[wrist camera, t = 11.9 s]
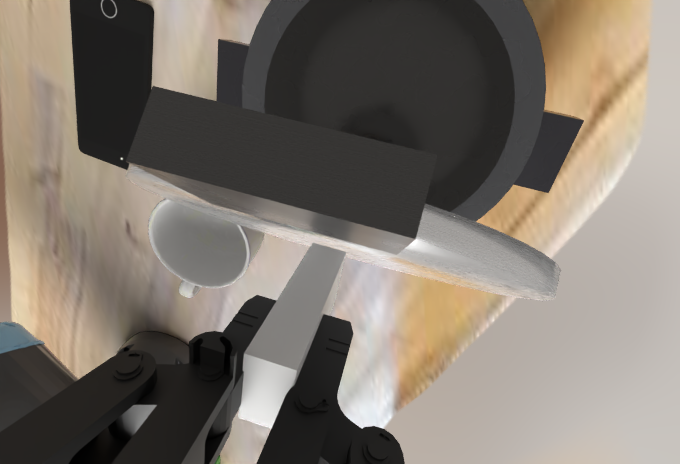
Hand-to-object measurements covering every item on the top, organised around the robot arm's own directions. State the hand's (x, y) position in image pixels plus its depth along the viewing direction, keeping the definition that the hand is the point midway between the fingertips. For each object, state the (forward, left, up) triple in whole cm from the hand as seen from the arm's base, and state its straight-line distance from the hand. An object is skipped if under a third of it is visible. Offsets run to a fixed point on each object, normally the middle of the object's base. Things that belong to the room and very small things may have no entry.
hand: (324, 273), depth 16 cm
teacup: (-16, -13, -24) cm, 31 cm away
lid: (0, +1, -3) cm, 3 cm away
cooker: (0, +5, -23) cm, 24 cm away
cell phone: (-30, 0, -24) cm, 39 cm away
